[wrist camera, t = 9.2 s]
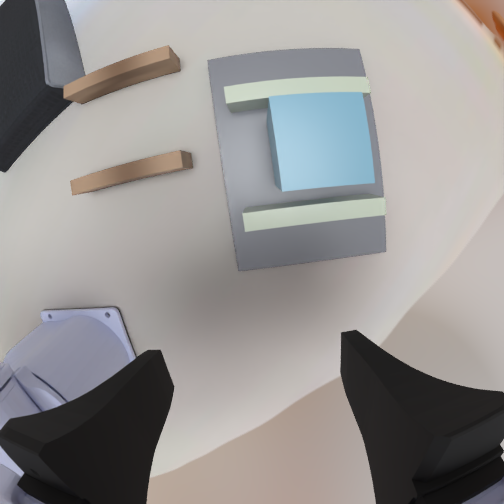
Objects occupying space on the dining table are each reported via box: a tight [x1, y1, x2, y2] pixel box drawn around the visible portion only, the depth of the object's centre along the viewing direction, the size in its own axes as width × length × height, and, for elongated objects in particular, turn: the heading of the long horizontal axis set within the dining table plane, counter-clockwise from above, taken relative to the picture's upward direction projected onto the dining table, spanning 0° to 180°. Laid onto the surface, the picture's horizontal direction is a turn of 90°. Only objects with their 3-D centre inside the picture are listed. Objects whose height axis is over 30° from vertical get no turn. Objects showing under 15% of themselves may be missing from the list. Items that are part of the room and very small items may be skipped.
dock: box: [207, 48, 386, 271], centre depth 16 cm, size 10×14×3 cm
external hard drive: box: [0, 0, 85, 172], centre depth 13 cm, size 13×19×4 cm
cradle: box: [64, 45, 193, 195], centre depth 16 cm, size 8×8×2 cm
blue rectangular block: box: [266, 92, 375, 192], centre depth 14 cm, size 4×4×6 cm
